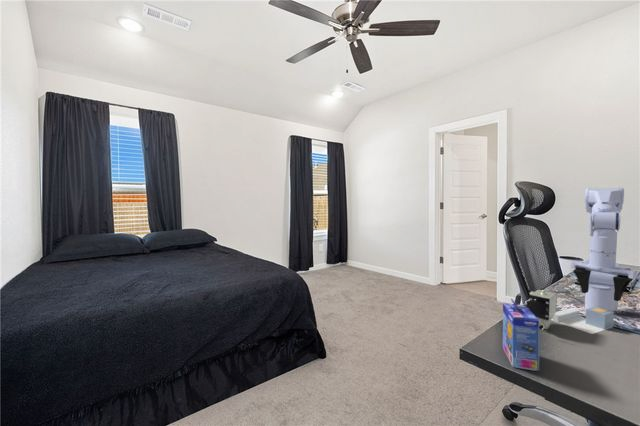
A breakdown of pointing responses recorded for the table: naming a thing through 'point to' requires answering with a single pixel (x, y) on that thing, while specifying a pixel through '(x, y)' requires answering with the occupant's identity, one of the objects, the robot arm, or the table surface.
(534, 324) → the ink cartridge box
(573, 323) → the rail board
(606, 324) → the block
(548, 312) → the pneumatic valve
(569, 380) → the table surface
